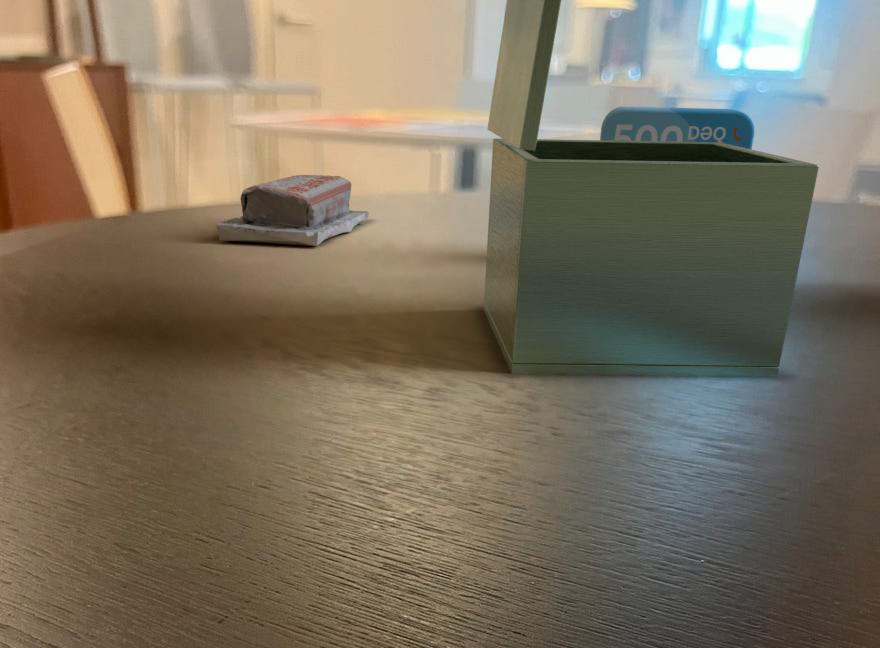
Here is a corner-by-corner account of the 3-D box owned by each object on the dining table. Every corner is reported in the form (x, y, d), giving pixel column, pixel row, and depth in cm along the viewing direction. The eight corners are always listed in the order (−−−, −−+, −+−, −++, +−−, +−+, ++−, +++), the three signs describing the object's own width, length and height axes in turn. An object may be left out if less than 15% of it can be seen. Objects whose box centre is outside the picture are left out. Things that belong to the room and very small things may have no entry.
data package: (589, 264, 88) (605, 107, 82) (588, 256, 92) (603, 105, 86) (731, 270, 87) (758, 111, 81) (724, 261, 90) (749, 109, 85)
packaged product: (278, 169, 108) (369, 173, 106) (280, 219, 110) (369, 223, 108) (212, 186, 92) (317, 191, 91) (216, 242, 95) (318, 248, 93)
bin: (694, 316, 70) (721, 142, 65) (776, 381, 56) (819, 164, 50) (483, 313, 70) (493, 138, 65) (511, 378, 55) (526, 160, 50)
